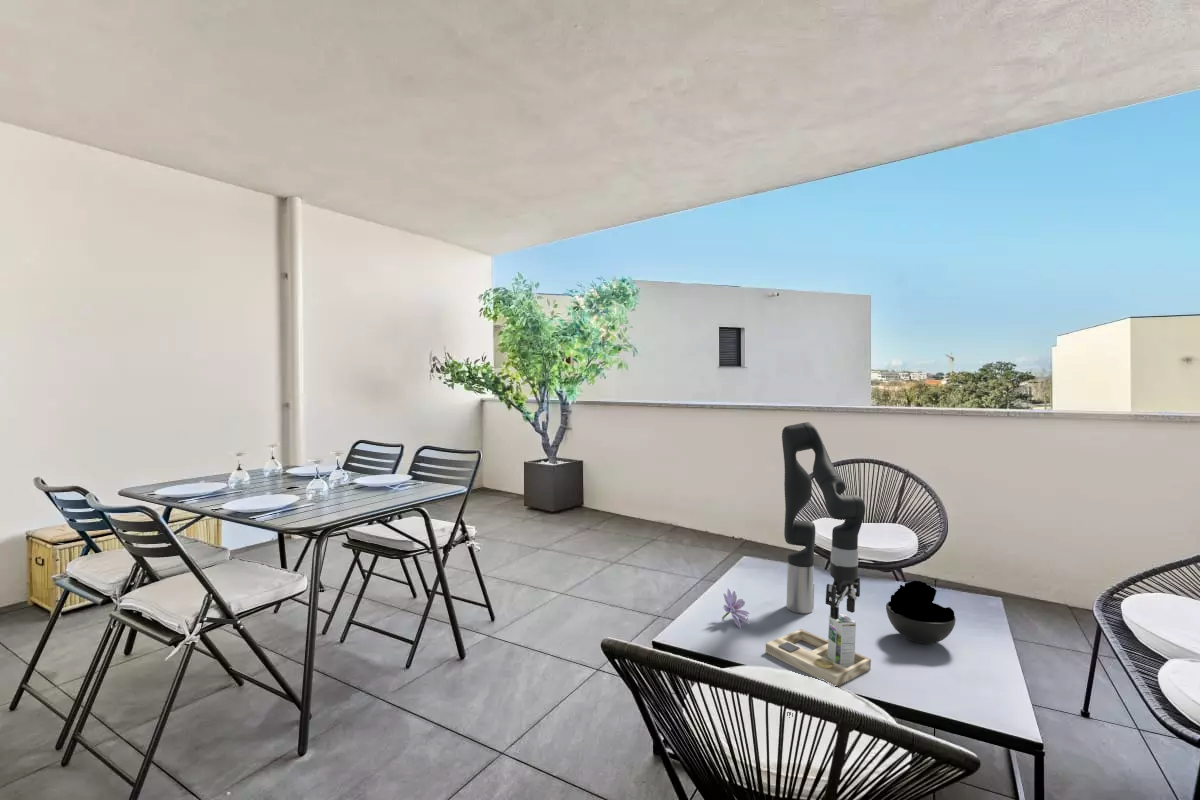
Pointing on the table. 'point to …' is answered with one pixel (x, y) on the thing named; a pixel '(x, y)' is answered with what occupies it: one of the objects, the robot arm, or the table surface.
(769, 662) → the table surface
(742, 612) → the water lily
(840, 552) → the robot arm
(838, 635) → the syrup box
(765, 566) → the table surface
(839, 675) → the socket block
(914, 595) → the bowl of black rocks
